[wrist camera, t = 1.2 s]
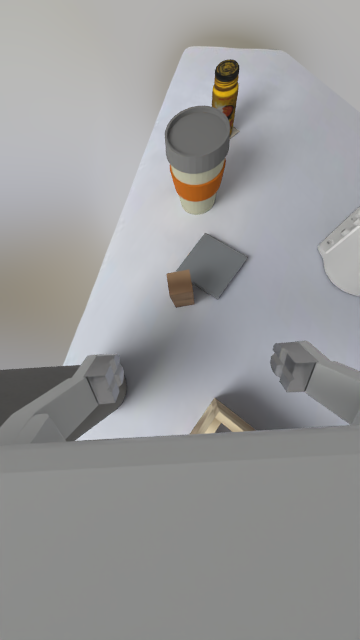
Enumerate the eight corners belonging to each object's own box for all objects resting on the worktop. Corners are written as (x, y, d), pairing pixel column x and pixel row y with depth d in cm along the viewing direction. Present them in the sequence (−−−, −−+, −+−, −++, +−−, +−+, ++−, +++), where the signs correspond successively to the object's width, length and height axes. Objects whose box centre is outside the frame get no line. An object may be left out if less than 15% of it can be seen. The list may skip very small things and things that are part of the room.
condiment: (219, 147, 49) (225, 83, 38) (200, 130, 51) (200, 65, 40) (239, 132, 50) (251, 63, 38) (220, 116, 51) (226, 46, 40)
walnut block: (173, 290, 43) (166, 273, 34) (191, 286, 43) (189, 269, 34) (175, 307, 42) (169, 295, 33) (194, 304, 42) (192, 291, 33)
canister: (79, 362, 42) (-437, 404, 8) (130, 357, 41) (-219, 376, 7) (79, 420, 40) (-680, 840, 5) (133, 415, 38) (-395, 908, 4)
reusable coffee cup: (229, 187, 47) (242, 111, 32) (209, 226, 45) (214, 165, 30) (186, 175, 49) (180, 99, 34) (166, 212, 47) (152, 149, 33)
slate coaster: (205, 236, 45) (205, 232, 43) (246, 260, 42) (247, 257, 41) (177, 273, 44) (176, 270, 42) (217, 299, 41) (218, 297, 40)
